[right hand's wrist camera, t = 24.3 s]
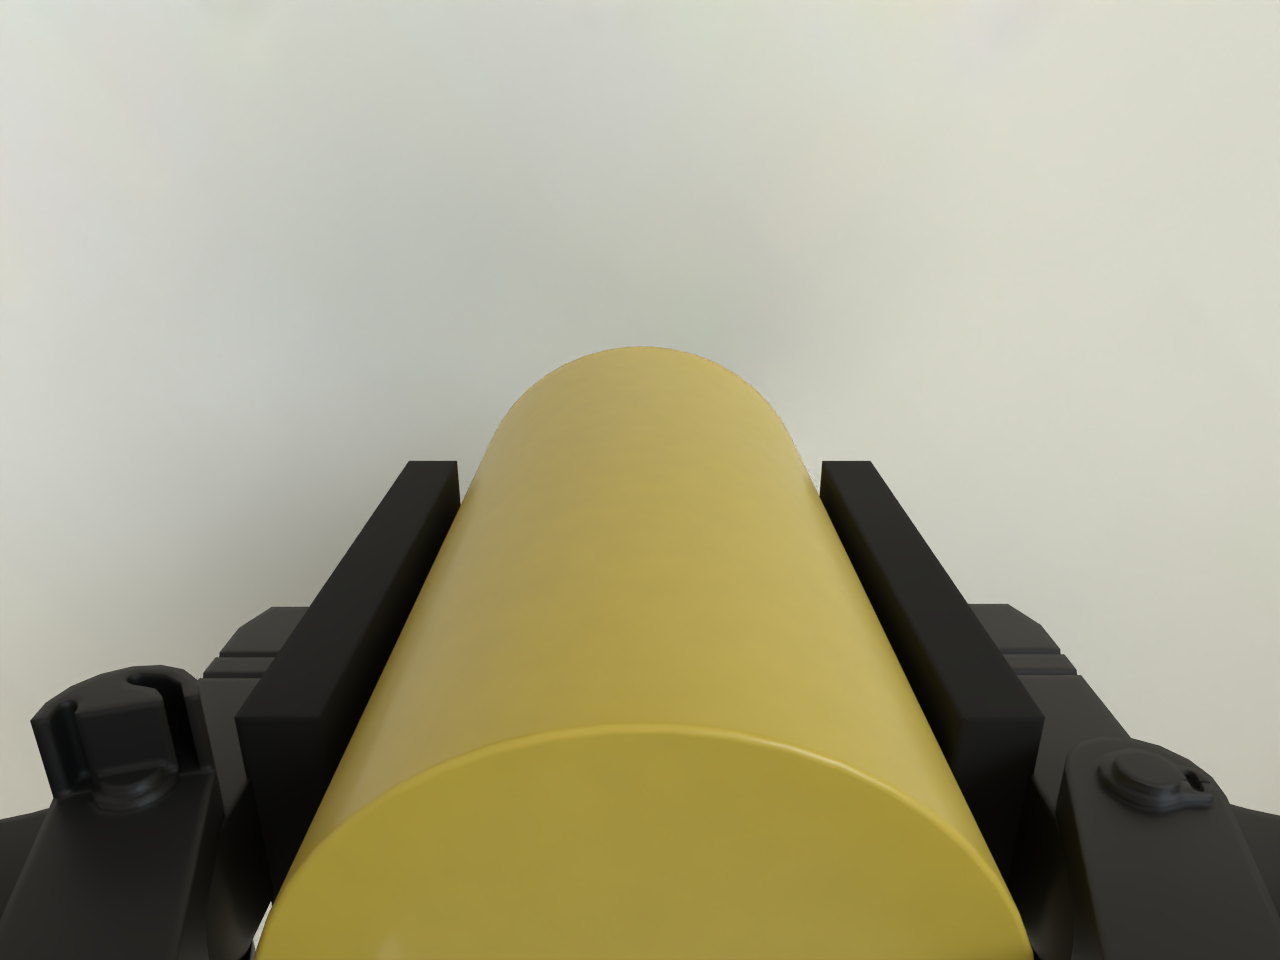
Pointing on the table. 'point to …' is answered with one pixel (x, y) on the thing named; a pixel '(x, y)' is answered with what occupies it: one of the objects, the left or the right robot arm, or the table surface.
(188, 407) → the table surface
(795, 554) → the cylinder
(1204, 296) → the table surface
